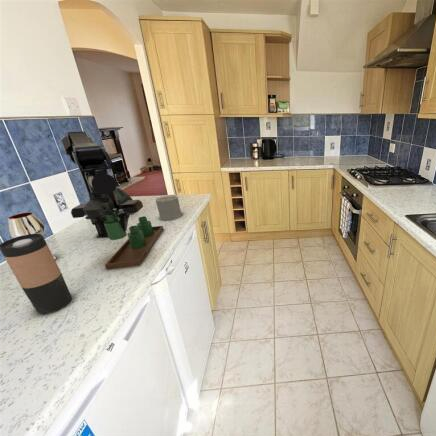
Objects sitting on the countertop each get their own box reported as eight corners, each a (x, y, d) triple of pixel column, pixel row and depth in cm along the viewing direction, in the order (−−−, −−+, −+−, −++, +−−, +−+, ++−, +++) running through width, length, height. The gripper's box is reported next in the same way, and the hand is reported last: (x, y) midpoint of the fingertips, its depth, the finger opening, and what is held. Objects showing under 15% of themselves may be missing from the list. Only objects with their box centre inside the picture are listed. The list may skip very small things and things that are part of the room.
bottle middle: (129, 250, 93) (123, 230, 89) (134, 244, 97) (128, 225, 94) (143, 249, 94) (137, 229, 90) (148, 242, 98) (142, 223, 95)
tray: (106, 269, 81) (104, 264, 81) (139, 231, 108) (137, 228, 107) (139, 265, 83) (138, 260, 82) (163, 229, 109) (162, 225, 109)
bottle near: (139, 239, 101) (133, 220, 98) (143, 233, 106) (138, 215, 103) (151, 237, 102) (146, 219, 99) (155, 232, 107) (150, 214, 103)
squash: (89, 207, 123) (95, 187, 115) (118, 199, 136) (125, 181, 128) (108, 227, 122) (115, 209, 115) (135, 217, 135) (143, 200, 127)
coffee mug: (182, 217, 122) (178, 198, 118) (160, 221, 117) (155, 202, 113) (179, 209, 133) (175, 192, 129) (159, 213, 128) (154, 195, 124)
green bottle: (106, 240, 80) (97, 217, 77) (113, 234, 85) (105, 211, 81) (122, 239, 81) (115, 215, 78) (129, 232, 86) (122, 210, 82)
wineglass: (64, 257, 89) (43, 212, 82) (37, 270, 82) (11, 221, 75) (50, 254, 91) (28, 210, 84) (22, 266, 84) (-4, 219, 77)
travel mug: (51, 296, 70) (19, 234, 62) (79, 294, 70) (51, 232, 62) (27, 316, 63) (-13, 249, 55) (58, 313, 63) (23, 247, 55)
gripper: (48, 197, 67) (70, 246, 73) (122, 192, 70) (137, 239, 76) (73, 187, 77) (91, 230, 83) (137, 182, 80) (149, 225, 87)
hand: (116, 231), depth 82 cm, fingers closed on green bottle, 5 cm apart
